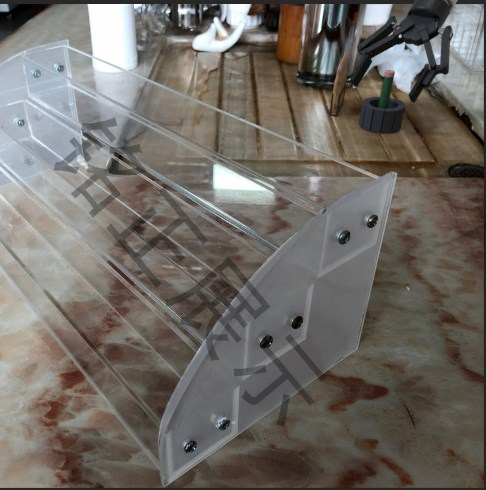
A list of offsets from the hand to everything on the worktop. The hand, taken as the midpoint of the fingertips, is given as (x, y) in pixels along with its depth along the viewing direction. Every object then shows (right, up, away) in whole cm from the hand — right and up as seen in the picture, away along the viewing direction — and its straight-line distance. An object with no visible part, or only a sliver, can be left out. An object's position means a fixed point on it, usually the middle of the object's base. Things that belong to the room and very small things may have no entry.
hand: (381, 91), depth 125 cm
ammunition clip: (-5, 0, +15) cm, 16 cm away
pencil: (+2, -6, +6) cm, 8 cm away
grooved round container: (+2, -6, +6) cm, 8 cm away
